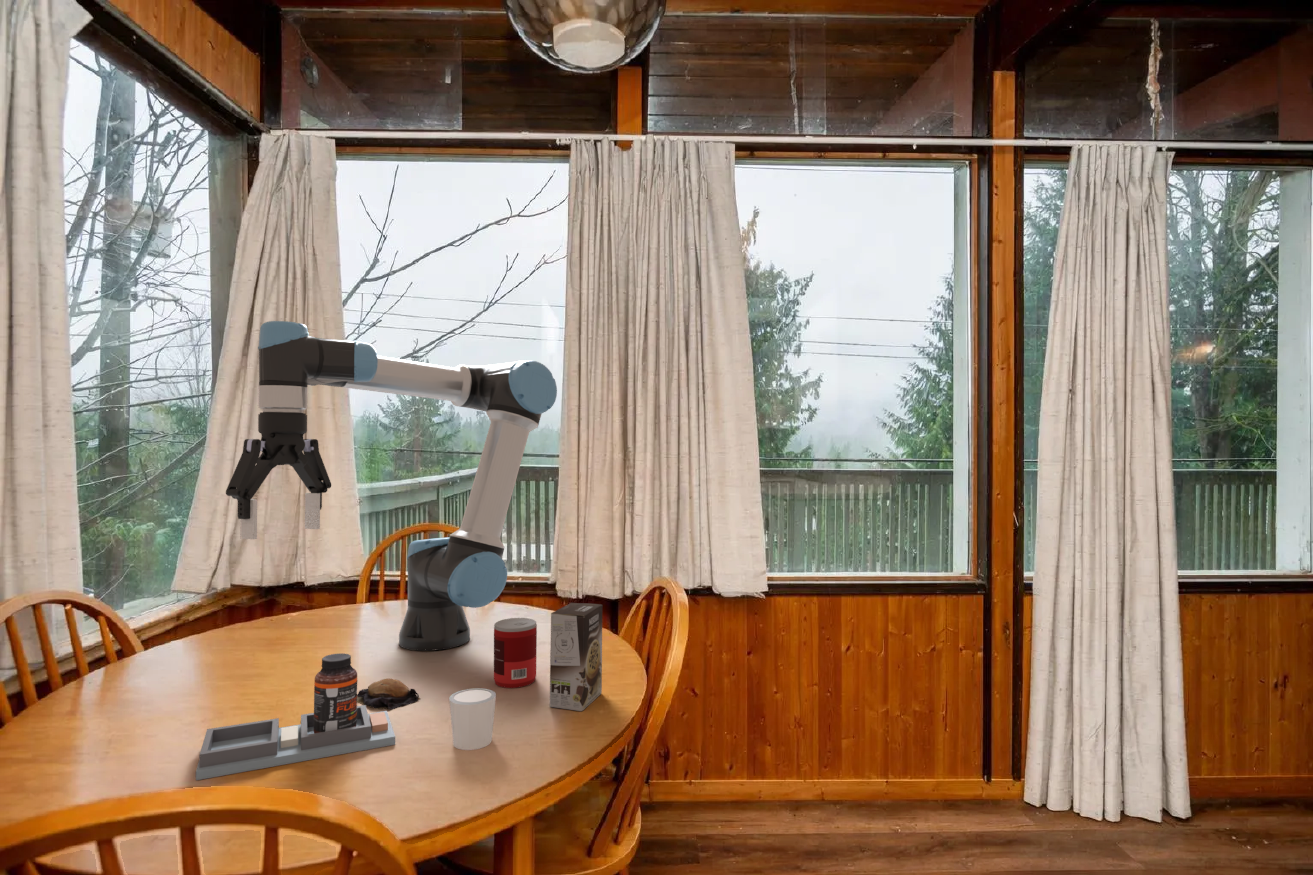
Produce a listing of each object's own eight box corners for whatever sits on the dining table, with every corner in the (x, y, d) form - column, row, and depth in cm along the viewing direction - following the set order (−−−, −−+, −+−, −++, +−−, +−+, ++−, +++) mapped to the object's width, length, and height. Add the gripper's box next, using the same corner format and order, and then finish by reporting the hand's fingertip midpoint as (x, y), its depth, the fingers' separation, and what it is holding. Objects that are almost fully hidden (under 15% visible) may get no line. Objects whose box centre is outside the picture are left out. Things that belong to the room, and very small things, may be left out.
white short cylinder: (453, 755, 102) (454, 706, 102) (444, 737, 108) (444, 691, 108) (501, 746, 105) (501, 699, 105) (489, 729, 111) (489, 684, 111)
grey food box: (583, 712, 118) (584, 615, 118) (548, 707, 120) (549, 612, 120) (603, 693, 127) (604, 603, 127) (570, 689, 129) (571, 600, 129)
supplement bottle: (340, 742, 103) (340, 664, 103) (304, 738, 104) (304, 661, 104) (365, 725, 109) (365, 652, 109) (331, 722, 110) (331, 649, 110)
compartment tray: (386, 717, 115) (386, 699, 115) (395, 744, 105) (395, 724, 105) (205, 747, 104) (205, 727, 104) (195, 780, 94) (195, 757, 94)
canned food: (544, 677, 135) (544, 620, 135) (519, 691, 128) (519, 630, 128) (511, 671, 138) (511, 615, 138) (485, 684, 131) (485, 625, 131)
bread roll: (347, 703, 123) (346, 681, 123) (389, 688, 130) (389, 668, 130) (383, 716, 117) (383, 694, 117) (426, 701, 124) (426, 680, 124)
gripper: (320, 413, 136) (319, 524, 136) (200, 408, 112) (199, 542, 112) (352, 413, 134) (351, 526, 134) (237, 408, 110) (236, 544, 110)
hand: (282, 533), depth 123 cm, fingers open, 13 cm apart
